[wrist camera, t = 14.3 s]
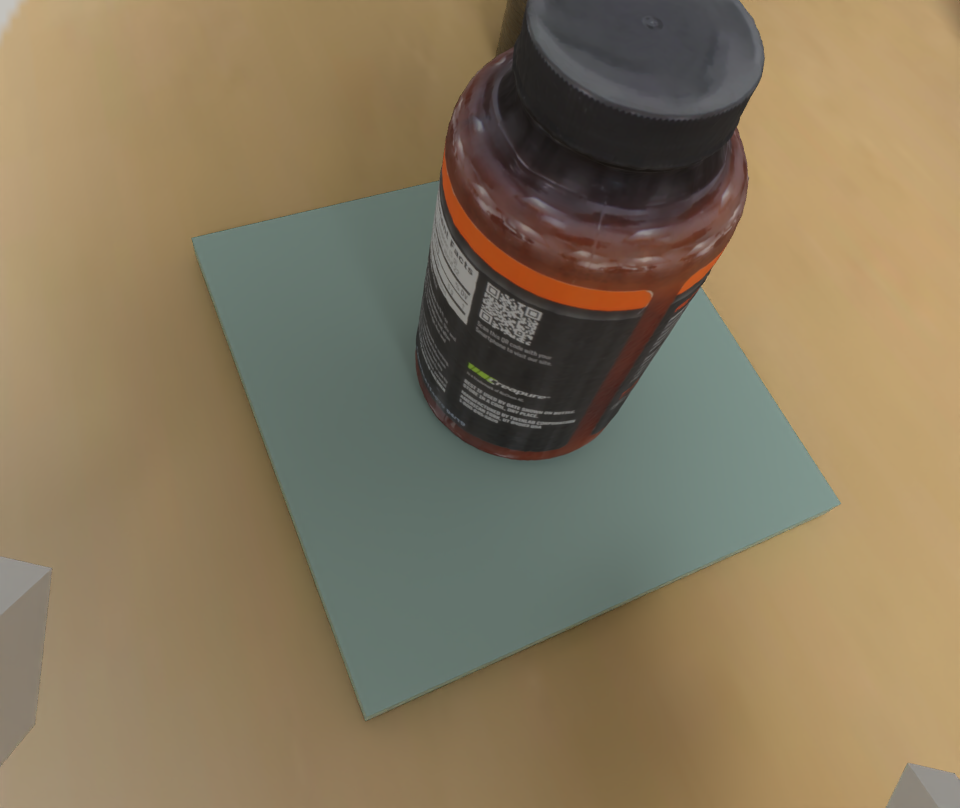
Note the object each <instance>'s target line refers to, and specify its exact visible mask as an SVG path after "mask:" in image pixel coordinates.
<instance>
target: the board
mask: <svg viewBox="0 0 960 808" xmlns="http://www.w3.org/2000/svg"><path fill="white" fill-rule="evenodd" d="M438 188H439V181H435V182H431V183H426V184H422V185H418V186H413V187H409V188H405V189H400V190H396V191H392V192H388V193H383V194H379V195H375V196H370V197H366V198H362V199H357V200H353V201H349V202H345V203H340V204H336V205H332V206H327V207H323V208H319V209H314V210H310V211H306V212H301V213H297V214H293V215H289V216H284V217H280V218H276V219H271V220H267V221H263V222H258V223H254V224H250V225H246V226H241V227H237V228H233V229H228V230H224V231H220V232H215V233H211V234H207V235H203V236H198V237H194V238H192V242H193V246H194V250H195V254H196V258H197V260H198V263H199V266H200V268H201V271H202V274H203V277H204V279H205V282H206V285H207V288H208V290H209V293H210V296H211V299H212V301H213V304H214V307H215V310H216V312H217V315H218V318H219V321H220V323H221V326H222V329H223V332H224V334H225V337H226V340H227V343H228V345H229V348H230V351H231V354H232V356H233V359H234V362H235V365H236V367H237V370H238V373H239V376H240V378H241V381H242V384H243V387H244V389H245V392H246V395H247V398H248V400H249V403H250V406H251V409H252V411H253V414H254V417H255V419H256V422H257V425H258V428H259V430H260V433H261V436H262V439H263V441H264V444H265V447H266V450H267V452H268V455H269V458H270V461H271V463H272V466H273V469H274V472H275V474H276V477H277V480H278V483H279V485H280V488H281V491H282V494H283V496H284V499H285V502H286V505H287V507H288V510H289V513H290V516H291V518H292V521H293V524H294V527H295V529H296V532H297V535H298V538H299V540H300V543H301V546H302V549H303V551H304V554H305V557H306V560H307V562H308V565H309V568H310V570H311V573H312V576H313V579H314V581H315V584H316V587H317V590H318V592H319V595H320V598H321V601H322V603H323V606H324V609H325V612H326V614H327V617H328V620H329V623H330V625H331V628H332V631H333V634H334V636H335V639H336V642H337V645H338V647H339V650H340V653H341V656H342V658H343V661H344V664H345V667H346V669H347V672H348V675H349V678H350V680H351V683H352V686H353V689H354V691H355V694H356V697H357V700H358V702H359V705H360V708H361V710H362V713H363V716H364V719H365V721H367V720H369V719H371V718H373V717H375V716H378V715H380V714H382V713H384V712H387V711H389V710H391V709H393V708H395V707H398V706H400V705H402V704H404V703H406V702H409V701H411V700H413V699H415V698H418V697H420V696H422V695H424V694H426V693H429V692H431V691H433V690H435V689H437V688H440V687H442V686H444V685H446V684H449V683H451V682H453V681H455V680H457V679H460V678H462V677H464V676H466V675H469V674H471V673H473V672H475V671H477V670H480V669H482V668H484V667H486V666H488V665H491V664H493V663H495V662H497V661H500V660H502V659H504V658H506V657H508V656H511V655H513V654H515V653H517V652H519V651H522V650H524V649H526V648H528V647H531V646H533V645H535V644H537V643H539V642H542V641H544V640H546V639H548V638H550V637H553V636H555V635H557V634H559V633H562V632H564V631H566V630H568V629H570V628H573V627H575V626H577V625H579V624H581V623H584V622H586V621H588V620H590V619H593V618H595V617H597V616H599V615H601V614H604V613H606V612H608V611H610V610H612V609H615V608H617V607H619V606H621V605H624V604H626V603H628V602H630V601H632V600H635V599H637V598H639V597H641V596H643V595H646V594H648V593H650V592H652V591H655V590H657V589H659V588H661V587H663V586H666V585H668V584H670V583H672V582H674V581H677V580H679V579H681V578H683V577H686V576H688V575H690V574H692V573H694V572H697V571H699V570H701V569H703V568H706V567H708V566H710V565H712V564H714V563H717V562H719V561H721V560H723V559H725V558H728V557H730V556H732V555H734V554H737V553H739V552H741V551H743V550H745V549H748V548H750V547H752V546H754V545H756V544H759V543H761V542H763V541H765V540H768V539H770V538H772V537H774V536H776V535H779V534H781V533H783V532H785V531H787V530H790V529H792V528H794V527H796V526H799V525H801V524H803V523H805V522H807V521H810V520H812V519H814V518H816V517H818V516H821V515H823V514H825V513H827V512H828V511H830V510H832V509H833V508H835V507H836V506H838V505H840V504H841V503H840V501H839V500H838V498H837V497H836V495H835V493H834V492H833V490H832V489H831V487H830V486H829V484H828V483H827V481H826V480H825V478H824V476H823V475H822V473H821V472H820V470H819V469H818V467H817V466H816V464H815V463H814V461H813V459H812V458H811V456H810V455H809V453H808V452H807V450H806V449H805V447H804V446H803V444H802V442H801V441H800V439H799V438H798V436H797V435H796V433H795V432H794V430H793V429H792V427H791V425H790V424H789V422H788V421H787V419H786V418H785V416H784V415H783V413H782V412H781V410H780V408H779V407H778V405H777V404H776V402H775V401H774V399H773V398H772V396H771V394H770V393H769V391H768V390H767V388H766V387H765V385H764V384H763V382H762V381H761V379H760V377H759V376H758V374H757V373H756V371H755V370H754V368H753V367H752V365H751V364H750V362H749V360H748V359H747V357H746V356H745V354H744V353H743V351H742V350H741V348H740V347H739V345H738V343H737V342H736V340H735V339H734V337H733V336H732V334H731V333H730V331H729V330H728V328H727V326H726V325H725V323H724V322H723V320H722V319H721V317H720V316H719V314H718V313H717V311H716V309H715V308H714V306H713V305H712V303H711V302H710V300H709V299H708V297H707V295H706V294H705V292H704V291H703V289H702V288H701V287H700V289H699V290H698V292H697V293H696V295H695V296H694V298H693V299H692V300H691V302H690V303H689V305H688V306H687V308H686V309H685V311H684V312H683V314H682V315H681V317H680V319H679V320H678V322H677V323H676V325H675V326H674V328H673V329H672V331H671V332H670V334H669V335H668V337H667V338H666V340H665V341H664V343H663V344H662V346H661V347H660V349H659V351H658V352H657V353H656V355H655V356H654V358H653V359H652V361H651V362H650V364H649V365H648V367H647V369H646V370H645V371H644V373H643V375H642V376H641V377H640V379H639V381H638V383H637V384H636V386H635V387H634V388H633V390H632V391H631V392H630V394H629V396H628V397H627V399H626V400H625V402H624V404H623V405H622V406H621V408H620V410H619V411H618V413H617V414H616V415H615V417H614V418H613V419H612V420H611V421H610V422H609V424H608V425H607V426H606V427H605V428H604V429H603V431H602V432H601V433H600V434H599V435H598V436H597V437H596V438H595V439H593V440H592V441H591V442H589V443H588V444H587V445H584V446H583V447H581V448H579V449H577V450H575V451H572V452H570V453H568V454H565V455H562V456H558V457H554V458H550V459H544V460H536V461H533V460H529V461H526V460H512V459H508V458H504V457H499V456H495V455H492V454H489V453H486V452H484V451H481V450H478V449H477V448H475V447H473V446H472V445H470V444H468V443H465V442H464V441H463V440H461V439H460V438H459V437H457V436H456V435H455V434H453V433H452V432H451V431H450V430H449V429H448V428H447V427H446V426H445V425H444V424H443V423H442V422H441V421H440V420H439V419H438V418H437V417H436V416H435V414H434V413H433V411H432V410H431V408H430V407H429V405H428V403H427V401H426V399H425V398H424V395H423V392H422V390H421V387H420V385H419V381H418V377H417V372H416V360H415V350H416V334H417V328H418V324H419V316H420V309H421V303H422V296H423V290H424V281H425V276H426V269H427V264H428V256H429V248H430V243H431V236H432V229H433V222H434V214H435V208H436V201H437V194H438Z"/></svg>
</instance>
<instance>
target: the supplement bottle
mask: <svg viewBox="0 0 960 808" xmlns="http://www.w3.org/2000/svg"><path fill="white" fill-rule="evenodd" d="M764 59H765V57H764V47H763V44H762V40H761V37H760V33H759V31H758V29H757V27H756V25H755V22H754V19H753V18H752V17H751V15H750V14H749V13H748V12H747V10H746V9H745V8H744V6H743V5H742V4H741V2H740V1H739V0H527V4H526V8H525V12H524V17H523V23H522V28H521V32H520V35H519V37H518V39H517V40H516V42H515V44H514V47H513V48H511V49H509V50H507V51H506V52H504V53H502V54H500V55H498V56H497V57H495V58H494V59H493V60H492V61H490V62H488V63H487V64H486V65H485V66H484V67H483V68H482V69H481V70H479V71H478V72H477V73H476V75H475V76H474V77H473V78H472V79H471V81H470V82H469V84H468V85H467V87H466V88H465V90H464V91H463V93H462V94H461V96H460V97H459V100H458V102H457V104H456V106H455V108H454V111H453V114H452V118H451V121H450V123H449V126H448V132H447V136H446V142H445V149H444V156H443V164H442V168H441V172H440V180H439V188H438V194H437V201H436V208H435V214H434V222H433V229H432V236H431V243H430V248H429V256H428V264H427V269H426V276H425V281H424V290H423V296H422V303H421V309H420V316H419V324H418V328H417V334H416V350H415V360H416V372H417V377H418V381H419V385H420V387H421V390H422V392H423V395H424V398H425V399H426V401H427V403H428V405H429V407H430V408H431V410H432V411H433V413H434V414H435V416H436V417H437V418H438V419H439V420H440V421H441V422H442V423H443V424H444V425H445V426H446V427H447V428H448V429H449V430H450V431H451V432H452V433H453V434H455V435H456V436H457V437H459V438H460V439H461V440H463V441H464V442H465V443H468V444H470V445H472V446H473V447H475V448H477V449H478V450H481V451H484V452H486V453H489V454H492V455H495V456H499V457H504V458H508V459H512V460H526V461H529V460H533V461H536V460H544V459H550V458H554V457H558V456H562V455H565V454H568V453H570V452H572V451H575V450H577V449H579V448H581V447H583V446H584V445H587V444H588V443H589V442H591V441H592V440H593V439H595V438H596V437H597V436H598V435H599V434H600V433H601V432H602V431H603V429H604V428H605V427H606V426H607V425H608V424H609V422H610V421H611V420H612V419H613V418H614V417H615V415H616V414H617V413H618V411H619V410H620V408H621V406H622V405H623V404H624V402H625V400H626V399H627V397H628V396H629V394H630V392H631V391H632V390H633V388H634V387H635V386H636V384H637V383H638V381H639V379H640V377H641V376H642V375H643V373H644V371H645V370H646V369H647V367H648V365H649V364H650V362H651V361H652V359H653V358H654V356H655V355H656V353H657V352H658V351H659V349H660V347H661V346H662V344H663V343H664V341H665V340H666V338H667V337H668V335H669V334H670V332H671V331H672V329H673V328H674V326H675V325H676V323H677V322H678V320H679V319H680V317H681V315H682V314H683V312H684V311H685V309H686V308H687V306H688V305H689V303H690V302H691V300H692V299H693V298H694V296H695V295H696V293H697V292H698V290H699V289H700V287H701V285H702V284H703V283H704V282H705V280H706V278H707V276H708V275H709V273H710V271H711V269H712V267H713V266H714V264H715V263H716V261H717V260H718V258H719V257H720V255H721V254H722V252H723V251H724V249H725V247H726V246H727V244H728V243H729V241H730V239H731V237H732V235H733V233H734V231H735V229H736V226H737V224H738V222H739V220H740V218H741V216H742V213H743V209H744V205H745V201H746V196H747V188H748V180H749V177H748V170H747V161H746V156H745V152H744V148H743V144H742V141H741V139H740V135H739V132H738V129H737V125H738V123H739V120H740V116H741V114H742V113H743V111H744V109H745V107H746V105H747V103H748V101H749V99H750V97H751V96H752V94H753V92H754V90H755V89H756V87H757V86H758V83H759V81H760V79H761V77H762V72H763V66H764Z"/></svg>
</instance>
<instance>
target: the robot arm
mask: <svg viewBox="0 0 960 808" xmlns="http://www.w3.org/2000/svg"><path fill="white" fill-rule="evenodd" d="M51 575H52V568H49V567H45V566H41V565H36V564H32V563H27V562H23V561H19V560H14V559H10V558H5V557H1V556H0V767H1V765H2V764H3V763H4V762H5V760H6V759H7V758H8V757H9V756H10V754H11V753H12V752H13V751H14V749H15V748H16V747H17V746H18V745H19V743H20V742H21V741H22V740H23V739H24V737H25V736H26V735H27V734H28V732H29V731H30V730H31V729H32V728H33V726H34V725H35V721H36V712H37V703H38V694H39V685H40V675H41V666H42V657H43V648H44V639H45V630H46V620H47V611H48V602H49V593H50V584H51ZM886 808H960V780H959V779H958V777H957V776H956V775H955V773H951V772H946V771H942V770H937V769H933V768H929V767H924V766H920V765H915V764H911V763H907V765H906V767H905V769H904V771H903V773H902V775H901V777H900V779H899V782H898V784H897V786H896V788H895V790H894V792H893V794H892V796H891V798H890V800H889V802H888V804H887V806H886Z"/></svg>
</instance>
